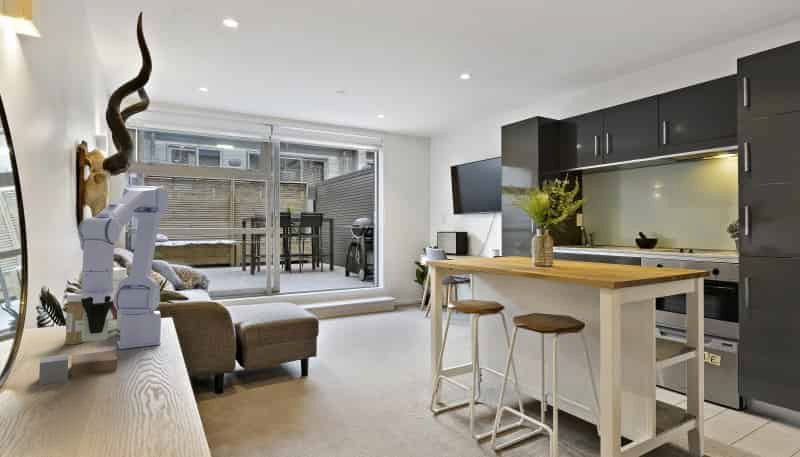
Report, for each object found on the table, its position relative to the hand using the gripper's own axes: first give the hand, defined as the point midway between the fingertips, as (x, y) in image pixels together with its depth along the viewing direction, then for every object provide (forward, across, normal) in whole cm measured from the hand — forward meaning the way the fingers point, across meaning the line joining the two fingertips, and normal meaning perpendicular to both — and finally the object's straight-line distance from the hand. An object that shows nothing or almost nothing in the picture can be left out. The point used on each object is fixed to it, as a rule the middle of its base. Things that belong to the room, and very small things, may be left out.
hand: (95, 330), depth 96 cm
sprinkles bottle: (+9, -28, -3) cm, 30 cm away
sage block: (+2, 0, 0) cm, 2 cm away
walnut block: (+9, 0, 0) cm, 9 cm away
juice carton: (+9, -42, +5) cm, 43 cm away
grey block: (+9, +4, -7) cm, 12 cm away
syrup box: (+9, -32, +10) cm, 35 cm away
